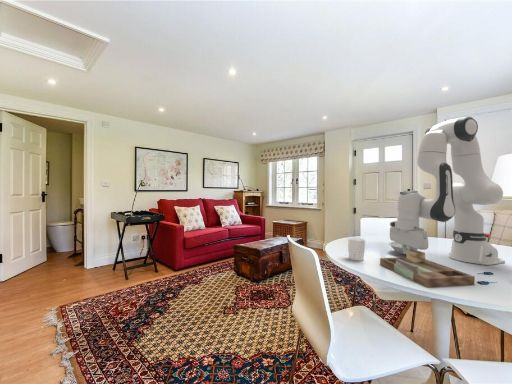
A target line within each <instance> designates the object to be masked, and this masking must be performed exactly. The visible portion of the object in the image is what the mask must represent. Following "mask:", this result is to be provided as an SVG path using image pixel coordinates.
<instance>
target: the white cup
mask: <svg viewBox="0 0 512 384" xmlns="http://www.w3.org/2000/svg"><path fill="white" fill-rule="evenodd" d="M347 240H348V241H347V247H348V248H347V249H348V259H349V260H352V261H358V262H361V261H364V255H365V249H366V239H365V238H362V237H355V236H354V237H348V238H347Z"/></svg>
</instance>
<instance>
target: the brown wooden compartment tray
mask: <svg viewBox="0 0 512 384" xmlns="http://www.w3.org/2000/svg"><path fill="white" fill-rule="evenodd" d="M379 265H380V266H383V267H384V268H386V269H388V270H390V271H392V272H395V273H397V274H399V275H401V276H403V277H405V278H407V279H409V280H411V281H414V282H415V283H417V284H419V285H422V286H424V287H426V288H438V287H453V286H454V287H455V286H456V287H457V286H472V285H473V286H474V285H475V283H476V281H475V278H476V277H475V275H472V274H469V273H466V272H463V271H460V270H458V269H457V270H456V269H455V268H451V267H448V266H446V265H443V264H440V263H436V262H434V261H431V260H429V259H426V258H425V262H413V261H411V260H408V259H406V256H405V257H404V256H403V257H400V256H399V257H380V258H379Z"/></svg>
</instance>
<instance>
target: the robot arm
mask: <svg viewBox="0 0 512 384" xmlns="http://www.w3.org/2000/svg"><path fill="white" fill-rule="evenodd" d="M478 129H479V125H478V122H477V120H476V119H474V118H473V117H472V116H461V117H458V118H452V119H447V120H445V121H442V122H440V123H439V122H438V123H436V124H433V125H431V126H429V127H428V128H426V130H425V132H424V134H423V136H422V137H421V138H422V139H421V141H420V145H419V149H418V153H417V159H416V160H417V161H416V163H417V166H418V167H419V169H420V170H421V171H423V172H424V173H427V174H429V175H432V176H433V177H435V179H436V197H435V198H429V197H425V196H423V195H421V194H420V193H419V191H417V190H406V191H402V192H400V194H399V195H398V200H397V217H396V218H397V220H394V221H390V223H389V226H390V229H389V239H390V242H398V243H401V244H402V248H403V253H404V254H403V255H407V250H413V249H414V248H417V250H419V251H420V250H421V251H423V250H428V249H429V238H428V232H427V230H426V229H425V228H424V227H420V218H422V219H426V220H432V221H437V222H440V223H446V222H449V220H451V219H452V218H453V219H454V220H453V221H454V228H453V231H452V237H453V240H452V241H451V242H452V243H451V246H450V252H449V253H448V255H449V258H451V259H453V260H455V261H456V260H457V261H459V262H465V263H470V264H478V265H482V266H491V265H492V266H493V265H497V264H504V262H505V263H506V260H505V259H503V258H499V251H498V249H497V248H496V247H495V246H493V245H492V244H491V243H490V242H488V241H487V238H488V239H490V238H491V234H490V233H485V232H484V226H485V225H484V223H485V221H484V219H485V218H484V216H483V215H482V214H481V213H480V212H478V211H476V210H475V208H474V205H477V206H478V205H480V206H482V205H483V206H487V205H489V206H490V205H495V204H498V203H499V202H501V200H502V198H503V195H504V191H503V188H502V187H501V185H499V184H498V183H496V182H494V181H493V180H492V179H490V177H488V175H487V173H486V172H485V169H484V168H483V163H482V162H483V161H482V157H481V148H480V144H479V140H478V137H477V136H476V135H477V133H478ZM448 145H450V156H451V157H450V159H451V165H452V166H450V164H449V163H448V162H447V151H448ZM451 167H452V168H451ZM453 173H454V174H455V175H457V176H460V178H462V180H463V182H459V181H458V182H456V181H455V182H453V181H454V180H453ZM407 248H408V249H407Z"/></svg>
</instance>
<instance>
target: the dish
mask: <svg viewBox="0 0 512 384" xmlns="http://www.w3.org/2000/svg"><path fill="white" fill-rule="evenodd" d="M388 245H389V246H390V247H391V248H392V249H393V250H394V251H396V252H397V253H401V254H403V255H405V254H404V253H403V248H402V244H401V243H398V242H395V241H390V242H388ZM407 249H408V248H407ZM413 250H418V249H417V248H414V249H413Z"/></svg>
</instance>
